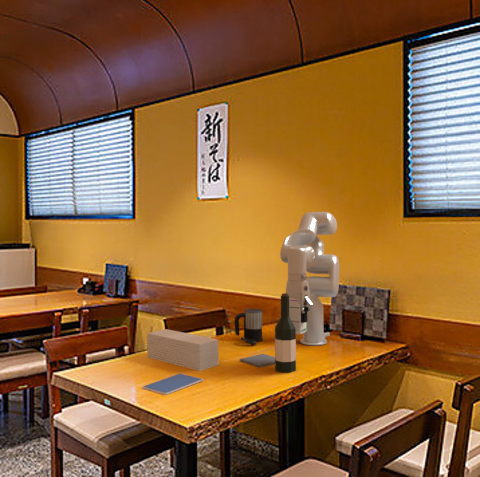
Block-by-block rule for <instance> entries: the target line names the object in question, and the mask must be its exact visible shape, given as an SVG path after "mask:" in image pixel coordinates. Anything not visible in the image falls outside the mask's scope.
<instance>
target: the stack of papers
mask: <svg viewBox="0 0 480 477" xmlns="http://www.w3.org/2000/svg"><path fill="white" fill-rule="evenodd" d="M146 335H147V336H146V337H147V340H146V341H147V345H146V346H147V358H148V359H152V360H156V361H160V362H164V363H167V364H171V365H175V366H178V367H182V368H186V369H191V370H194V371H198V372H201V371H204V370H208V369H211V368H213V367H216V366H219V362H220V361H219V339H216V338H211V337H208V336H204V335H203V336H202V335H199V334H198V335H197V334H192V333H188V332H183V331H178V330H172V329H167V328H166V329H160V330H156V331H152V332H147V333H146Z"/></svg>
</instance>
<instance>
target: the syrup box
mask: <svg viewBox="0 0 480 477" xmlns="http://www.w3.org/2000/svg"><path fill="white" fill-rule="evenodd" d="M303 308H304V307H303ZM304 309H305V308H304ZM301 313H302V311H301V306H299V304H298V301H297V299H296V298H289V317H290V319H291V321H292V323H293V324H294V326H295V328H296V335H302V334H303V333H304V332H306V331H307V322H305V323H301Z"/></svg>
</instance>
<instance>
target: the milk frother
mask: <svg viewBox="0 0 480 477" xmlns="http://www.w3.org/2000/svg"><path fill="white" fill-rule="evenodd" d="M243 311H244V312H240V313H237V314H236V315H235V317H234V331H235V332H234V333H235V335H236V337H238V336H239V335H240V319H241V318H243V337H240V340H241V341H243V342H245V343H247V344H249V345H251V346H253V345H256V344H257V343H258V342H262V341H263V309H259V308H246V309H244V310H243Z"/></svg>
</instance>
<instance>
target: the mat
mask: <svg viewBox="0 0 480 477" xmlns="http://www.w3.org/2000/svg"><path fill="white" fill-rule="evenodd" d="M239 361H240V362H242V363H246V364H248V365H250V366H251V365H252V366H254V365H255V366H254V367H257V368H264V367H268V366H271V365H275V356H272V355H268V354H266V353H259V354H256V355H251V356H247V357H242V358H239Z"/></svg>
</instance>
